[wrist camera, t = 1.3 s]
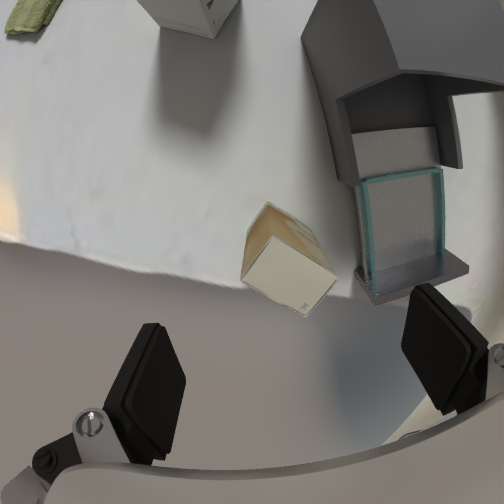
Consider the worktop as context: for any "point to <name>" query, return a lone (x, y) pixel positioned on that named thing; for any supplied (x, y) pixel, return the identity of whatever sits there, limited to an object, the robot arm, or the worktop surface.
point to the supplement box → (190, 14)
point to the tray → (401, 213)
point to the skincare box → (286, 261)
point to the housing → (401, 67)
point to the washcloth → (30, 15)
